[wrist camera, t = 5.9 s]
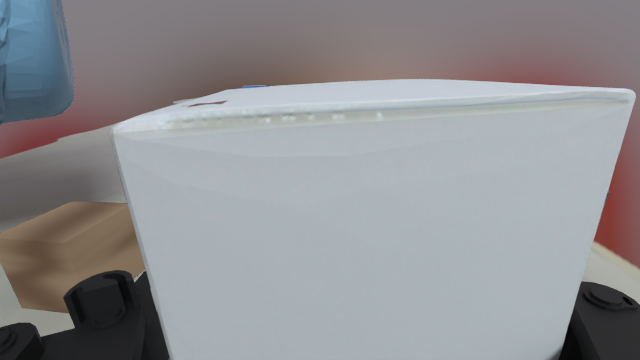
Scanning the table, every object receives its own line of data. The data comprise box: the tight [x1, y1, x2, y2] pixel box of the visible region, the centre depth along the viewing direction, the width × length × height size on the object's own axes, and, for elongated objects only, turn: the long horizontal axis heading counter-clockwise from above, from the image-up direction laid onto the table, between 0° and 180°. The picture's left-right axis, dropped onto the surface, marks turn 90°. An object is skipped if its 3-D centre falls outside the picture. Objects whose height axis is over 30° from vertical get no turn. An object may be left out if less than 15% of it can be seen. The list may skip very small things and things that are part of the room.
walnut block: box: [0, 201, 145, 313], centre depth 20 cm, size 5×5×5 cm
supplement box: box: [109, 79, 636, 360], centre depth 9 cm, size 7×7×13 cm
